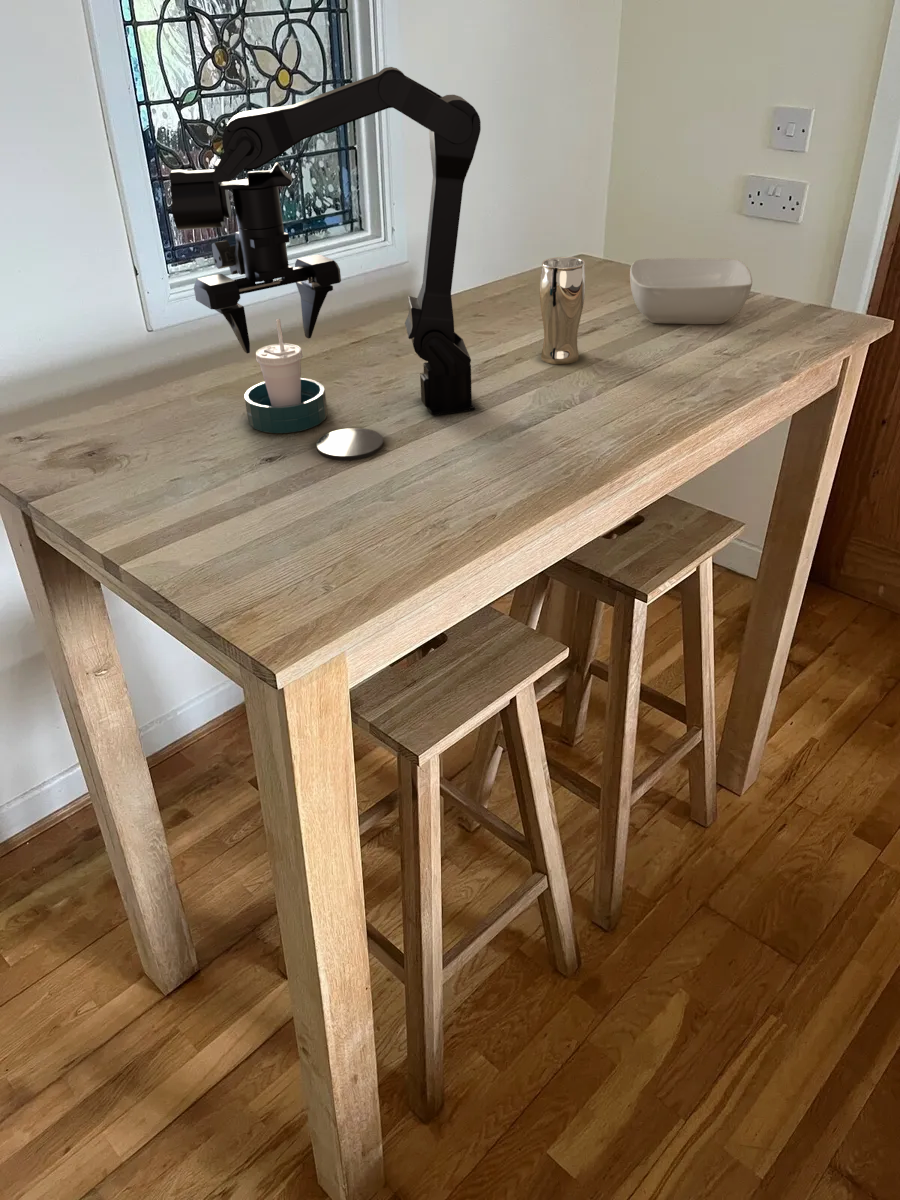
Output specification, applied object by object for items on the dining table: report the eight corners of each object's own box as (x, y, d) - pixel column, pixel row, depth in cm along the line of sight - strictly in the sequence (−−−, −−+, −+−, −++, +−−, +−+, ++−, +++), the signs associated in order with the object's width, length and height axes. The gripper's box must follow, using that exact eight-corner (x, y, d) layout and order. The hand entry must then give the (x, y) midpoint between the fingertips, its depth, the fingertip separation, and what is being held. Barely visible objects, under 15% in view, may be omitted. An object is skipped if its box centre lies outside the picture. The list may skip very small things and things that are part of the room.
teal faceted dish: (321, 399, 136) (318, 373, 134) (332, 428, 127) (329, 401, 125) (246, 409, 134) (241, 383, 132) (252, 439, 125) (247, 412, 123)
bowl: (626, 296, 174) (629, 254, 170) (736, 296, 171) (742, 254, 167) (628, 331, 157) (631, 285, 153) (751, 332, 154) (758, 286, 150)
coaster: (376, 428, 127) (376, 424, 127) (389, 455, 120) (389, 450, 120) (312, 437, 125) (311, 432, 125) (321, 464, 118) (321, 460, 118)
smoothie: (301, 427, 128) (288, 327, 120) (258, 424, 129) (242, 326, 121) (316, 409, 133) (304, 312, 125) (274, 406, 134) (260, 311, 126)
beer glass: (532, 363, 146) (534, 266, 137) (545, 348, 151) (548, 255, 143) (575, 367, 144) (579, 269, 135) (586, 353, 149) (591, 257, 140)
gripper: (297, 204, 126) (311, 317, 135) (167, 226, 117) (191, 345, 126) (336, 217, 118) (348, 335, 127) (200, 241, 110) (223, 367, 119)
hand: (278, 345), depth 125 cm, fingers open, 9 cm apart
